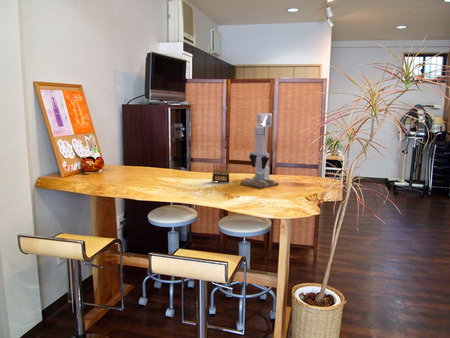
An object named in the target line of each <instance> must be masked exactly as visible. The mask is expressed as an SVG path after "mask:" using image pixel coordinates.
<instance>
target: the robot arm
mask: <svg viewBox="0 0 450 338" xmlns="http://www.w3.org/2000/svg"><path fill="white" fill-rule="evenodd" d="M272 122H273V114H272V113H271V112H270V113H268V112H267V113H266V112H263V113H262V112H258V113H257V114H256V126H255V127H254V151H249V152H248V155H249V156H248V158H249V159H250V163H251V167H252V168H255V173H257V172H262V173H265V174H264V179H269V180H271V177H270V167H269V164H270V153H269V152H267V151H266V150H267V149H266V148H267V139H268V138H267V137H268V130H269V128H271V127H272Z"/></svg>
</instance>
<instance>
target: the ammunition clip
mask: <svg viewBox="0 0 450 338" xmlns="http://www.w3.org/2000/svg"><path fill="white" fill-rule="evenodd" d="M212 166H213V167H212V168H213V169H212V177H211V180H212V181H218V182H217V183H220V182H229V183H230V164H229V163H225V164H224V163H222V164H221V163H219V164H218V163H215V162H214V163H213V165H212ZM212 181H211V182H212Z"/></svg>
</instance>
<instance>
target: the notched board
mask: <svg viewBox="0 0 450 338" xmlns="http://www.w3.org/2000/svg"><path fill="white" fill-rule="evenodd" d="M239 184H241V185H242V186H246V187H250V188H254V189H258V190H262V189H268V188H271V187H277V186H279V185H280V183H279V182H277V181H275V180H273V179H264V181H260V180H255V175H254V176H252V178H250V177H245V179H244V181H240V182H239Z"/></svg>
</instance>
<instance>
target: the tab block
mask: <svg viewBox="0 0 450 338" xmlns="http://www.w3.org/2000/svg"><path fill="white" fill-rule="evenodd" d="M264 174H265V173H262V172H257V173H255V175H254V176H255V180H260V181H264Z"/></svg>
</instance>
